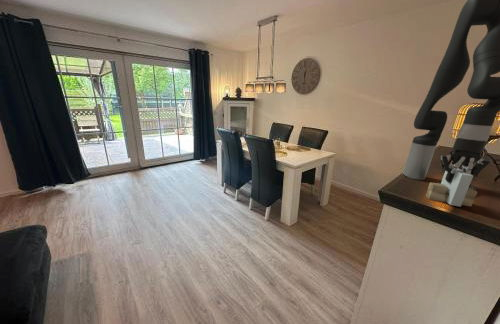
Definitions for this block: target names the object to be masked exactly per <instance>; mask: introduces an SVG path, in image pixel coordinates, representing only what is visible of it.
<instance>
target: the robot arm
mask: <svg viewBox="0 0 500 324" xmlns="http://www.w3.org/2000/svg"><path fill="white" fill-rule="evenodd" d="M456 20H457V21H456V22H455V26H454V28H453V32H452V34H451V37H450V40H449V43H448V46H447V48H446V51H445V53H444V56H443V57H442V60H441V62H440V64H439V66H438V68H437V70H436V73H435V74H434V78H433V80H432V82H431V86H429V87H430V88H429V90H428V92H427V94H426V97H425V99H424V100H423V102H422V104H421V106H420V108H419V110H418V112H417V113H416V115H415V118H414V121H413V127H414V128H415V129H416V130H421V131H423V130H424V131H428V132H427V133H425V134H422V135H418V136H415V137H413V139H412V141H411V145H410V147H409V152H408V156H407V158H406V162H405V165H404V169H403V172H402V175H403V174H404V175H405V176H404V175H403V176H404V177H406V176H407V177H406V178H409V179H412V180H413V179H414V180H419V181H422V180H423V181H424V180H425V179H426V178H427V177H426V176H427V174H428V171H429V168H430V166H431V163H432V160H433V156H434V153H435V150H436V147H437V144H438V142H439V141H440V139H441V136H442V134H443V131H444V129H445V127H446V124H447V121H448V113H447V112H446V111H445V110H433V108H434V107H435V105H436V104H437V103H438V102H439V101H440V100H441V99H442V98H443V97H446V95H447V94H449V93H451V92H452V91H453V90H454V89H456V88H457V87H458V86H459V85H460V84H461V83H462V82H463V80H464V79H465V76H466V73H467V72H468V70H469V68H470V65H471V64H470V63H471V59H470V54H469V50H468V46H467V45H468V43H467V39H468V36H469V32H470V29H471V27H472V26H474V27H475V26H486V29H487V31H486V34H485V36H484V37H483V38H482V39H481V40H480V42H479V43H478V44H477V46H476V47H475V49H474V51H473V54H472V64H473V66H472V68H473V71H472V74H471V78H470V80H469V81H470V82H469V83H468V86H467V90H466V91H467V95H468V96H469V98H472V99H473V100H486V101H485V103H483V105H480V106H472V107H469V109H468V110H467V111H466V113H465V115H464V119H463V121H462V124H461V126H460V128H459V130H458V133H457V136H456V138H455V141H454V143H453V146H452V150H451V151H449V153H448V154H440V155H439V161H440V165H441V169H442V170H444V171H447V175H446V178H445V180H446V181H447V182H448V183H451V182H452V180H453V177H454V173H455V171H456V170H457V169H460V167H462V169H461V170H462V171H464V172H466V173H468V174H470V175H473V176H476V175H478V174H479V173H480V172H481V171H483V169H484V168H486V167H487V166H488V165H489V164H490V161H489V160H486V159H484V158H482V153H483V151H484V150H485V147H486V146H487V142H488V140H489V138H490V134H491V133H492V127H493V125H494V122H495V120H496V117H497V115H498V114H499V112H500V76H493V75H496V74H498V73H500V0H467V1H466V2H465V3H464V5H463V6H462V8H461V11H460V12H459V15H458V18H457V19H456ZM450 159H451V162H450V163H449V160H450ZM475 163H476V164H475Z"/></svg>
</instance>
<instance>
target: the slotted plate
mask: <svg viewBox="0 0 500 324" xmlns="http://www.w3.org/2000/svg"><path fill="white" fill-rule="evenodd" d="M444 171H445V170H444ZM446 175H447V171H445V172H444V174H443V176H442V179H441V181H440V182H441V184H444V185H445V186H447V187H448V188H447V191H446V192H448V193H449V196H448V198H447V201H446V202H445V203H447V204H449V205H450V206H456V207H460V208H461V207H462V206H463V205H462V202H463V200H464V197H465V195H466V193H467V190H468V188H469V186H470V185H471V184H472V180H473V178H474V175H470V174H468V173H466V172H464V171H462V169H460V168H458V169H457V170H456V171H455V173H454V177H453V180H452V182H451V183H448V182H447V181H446V180H445V178H446Z"/></svg>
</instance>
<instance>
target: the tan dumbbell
mask: <svg viewBox="0 0 500 324" xmlns="http://www.w3.org/2000/svg"><path fill="white" fill-rule="evenodd" d="M438 183H439V182H429V185H428V188H427V191H426V194H425V197H426V198H427V199H428V200H432V201H436V202H442V203H447V202H446V201H447V198H448V196H449V193H448V192H446V191H447V188H448V187H447V186H445V185H444V184H438ZM477 195H478V191H477V190H476V191H475V190H474V189H471V188H468V190H467V193H466V195H465V197H464V200H463V202H462V205H461V206H466V207H472V205H473V203H474V202H475V199H476V196H477Z"/></svg>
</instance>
